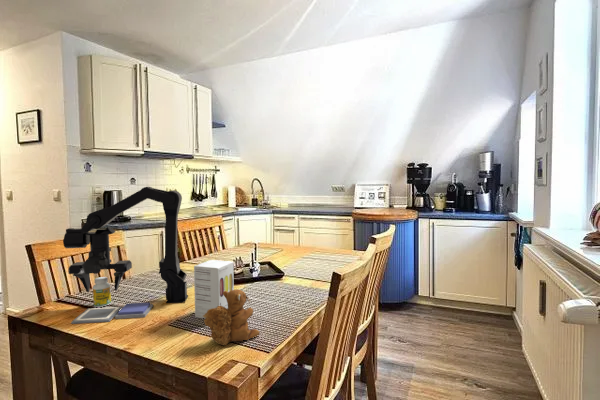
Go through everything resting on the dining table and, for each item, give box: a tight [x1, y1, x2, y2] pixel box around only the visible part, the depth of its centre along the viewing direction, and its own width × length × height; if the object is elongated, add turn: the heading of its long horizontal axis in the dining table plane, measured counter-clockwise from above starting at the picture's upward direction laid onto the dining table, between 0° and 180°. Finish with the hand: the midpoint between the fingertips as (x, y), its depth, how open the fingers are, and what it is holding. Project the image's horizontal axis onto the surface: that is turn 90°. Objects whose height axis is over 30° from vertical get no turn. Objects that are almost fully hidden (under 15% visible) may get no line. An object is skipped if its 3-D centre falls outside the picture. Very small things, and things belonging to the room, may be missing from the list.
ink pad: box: [114, 302, 154, 320], centre depth 117 cm, size 9×9×2 cm
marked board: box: [70, 306, 123, 325], centre depth 114 cm, size 11×11×1 cm
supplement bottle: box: [92, 276, 112, 308], centre depth 123 cm, size 5×5×10 cm
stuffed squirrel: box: [203, 288, 260, 346], centre depth 98 cm, size 10×14×13 cm
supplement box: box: [193, 259, 235, 320], centre depth 115 cm, size 10×9×17 cm
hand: (102, 291), depth 123 cm, fingers open, 9 cm apart
